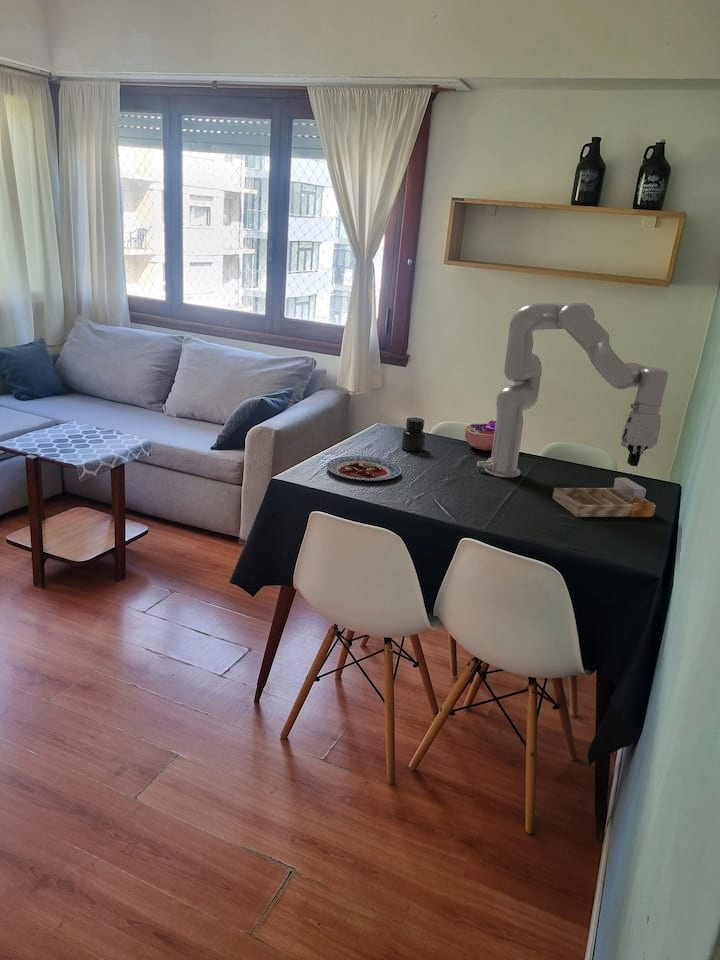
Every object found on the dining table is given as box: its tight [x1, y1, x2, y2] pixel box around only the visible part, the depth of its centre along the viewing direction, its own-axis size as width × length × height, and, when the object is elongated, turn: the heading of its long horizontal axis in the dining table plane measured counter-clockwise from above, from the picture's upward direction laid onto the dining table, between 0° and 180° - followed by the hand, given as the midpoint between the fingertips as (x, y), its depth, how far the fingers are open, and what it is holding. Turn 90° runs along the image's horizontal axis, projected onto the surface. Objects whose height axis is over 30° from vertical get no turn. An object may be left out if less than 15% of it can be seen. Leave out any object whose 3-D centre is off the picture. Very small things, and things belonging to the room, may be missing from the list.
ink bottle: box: [401, 417, 426, 452], centre depth 260 cm, size 10×9×12 cm
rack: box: [552, 487, 657, 518], centre depth 213 cm, size 26×17×4 cm, turn 101°
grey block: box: [612, 477, 647, 505], centre depth 214 cm, size 4×11×7 cm, turn 11°
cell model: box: [464, 420, 496, 452], centre depth 268 cm, size 17×20×11 cm
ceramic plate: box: [326, 455, 402, 482], centre depth 230 cm, size 26×26×3 cm
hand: (632, 464), depth 212 cm, fingers closed
